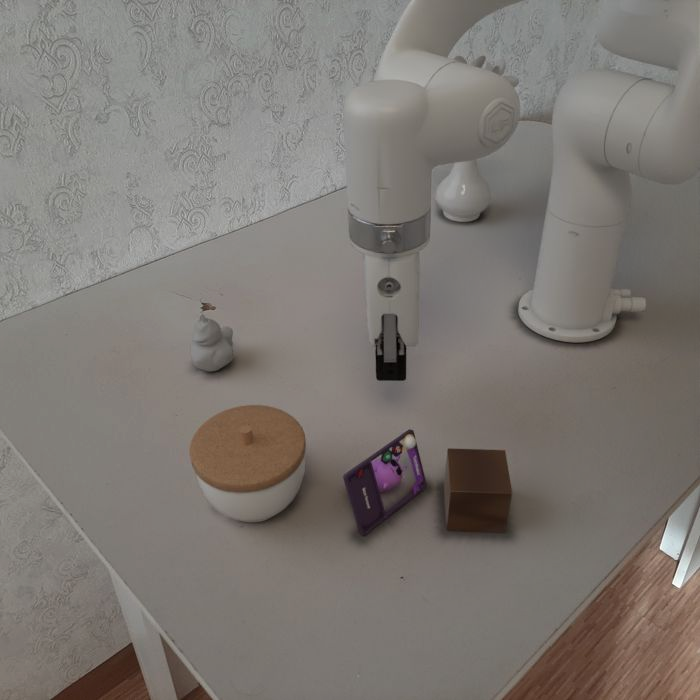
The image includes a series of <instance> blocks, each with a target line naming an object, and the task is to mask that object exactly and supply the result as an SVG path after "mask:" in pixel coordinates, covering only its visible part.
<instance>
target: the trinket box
mask: <svg viewBox="0 0 700 700" xmlns="http://www.w3.org/2000/svg"><path fill="white" fill-rule="evenodd" d="M306 441H307V439H306V433H305V431H304V428H303V426H302V425H301V424H300V422H299V421H298V420H297V418H295V417H294V416H292V415H291V414H290V413H288V412H286V411H284V410H282V409H281V408H277V407H274V406H270V405H262V404H248V405H247V404H246V405H240V406H235V407H231V408H229V409H226V410H223V411H221V412H218V413H217V414H215V415H213V416H212V417H210V418H208V419H207V420H206V421H204V422H203V424H201V425H200V427H198V428H197V430H196V431H195V433H194V434H193V437H192V438H191V441H190V445H189V458H190V463H191V466H192V468H193V471H194V475H195V478H196V482H197V485H198V487H199V489H200V492H201V493H202V495H203V496H204V498H205V500H206V501H207V502H208V504H209V505H210V506H211V507H212V508H213V509H214V510H215V511H216V512H217V513H220V514H221V515H223V516H224V517H226V518H229V519H231V520H235V521H239V522H244V523H251V524H252V523H262V522H264V521H267V520H270V519H271V518H273V517H274V516H276V515H278V514H279V513H281V512H282V511H284V510H285V509H286V508H287V507H288V506H289V505H290V504H291V503H292V502H293V501H294V500H295V498H296V497H297V495H298V494H299V491H300V489H301V486H302V483H303V480H304V476H305V470H306V447H307V442H306Z"/></svg>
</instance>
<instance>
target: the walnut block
mask: <svg viewBox="0 0 700 700" xmlns="http://www.w3.org/2000/svg"><path fill="white" fill-rule="evenodd" d="M445 460H446V461H445V468H444V469H445V471H444V480H443V497H444V513H445V528H446V531H447V532H466V533H467V532H470V533H471V532H472V533H495V534H496V533H498V534H505V533H506V531H507V525H508V519H509V514H510V509H511V504H512V503H511V501H512V497H513V489H512V484H511V483H512V482H511V477H510V471H509V465H508V459H507V452H506V450H505V449H485V448H484V449H482V448H480V449H479V448H453V447H452V448H451V447H450V448H447V450H446V458H445Z"/></svg>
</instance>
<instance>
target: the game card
mask: <svg viewBox="0 0 700 700" xmlns="http://www.w3.org/2000/svg"><path fill="white" fill-rule="evenodd" d="M401 441H402V443H401ZM403 449H404V450H406V453H407V455H408V458H409V461H410V463H411V467H412V470H413V474H414V479H415V483H414V484H413V485H412V490H411V491H410V492H409V493H408V494H407V495H405V496H404V497H402V498H401V499H400V500H399V501H397V502H396V503H395V504H393V505H392V506H391V507H390V508H388V509H387V510H385V506H384V503H383V500H382V496H381V492H385V491H388V490H390V489H392V488H394V487H396V486H397V485H398V484H399V483H400V482H403V481H404V480H403V479H404V478H406V477H407V476H406V475H405V476H404V474H403V471H405V470H407V469H408V465H407V466H406V465H405V466H401V464H400V463H399V460H400V458H401V455H402V454H403ZM420 455H421V454H420V452H419V448H418V443H417V439H416V435H415V431H414V430H413V429H410V428H409V429H407V430H406V431H404V432H402V433H401V434H399V436H398V437H396V438H394V439H393V440H392V441H390V442H389V443H387V444H385V445H384V446H383V447H382V448H380V449H379V450H377V451H376V452H374V453H373V454H371V455H370V456H368V457H366V459H364V460H362V461H361V462H359V464H357V465H356V466H354V467H353V468H351V469H350V470H349V471H347V472H346V473H344V474H343V476H342V479H343V482H344V485H345V490H346V492H347V495H348V499H349V502H350V506H351V509H352V512H353V516H354V519H355V523H356V526H357V529H358V533H359V535H361V536H363V537H364V536H365V535H367V534H368V533H369V532H371V531H372V530H374V529H375V528H376V527H377V526H378V525H379V524H381V523H382V522H383V521H385V520H387V519H388V518H389V517H390V516H391V515H392V514H394V513H395V512H397V511H398V510H399V509H400V508H402V507H403V506H404V505H406V504H407V503H408V502H409V501H411V500H412V499H413V498H415V497H416V496H417V495H418V494H420V493H421V492H422V491H423V490H425V489H426V487H427V486H428V484H427V480H426V476H425V471H424V467H423V464H422V460H421V456H420ZM393 456H394V457H395V458H393ZM378 457H379V458H378Z"/></svg>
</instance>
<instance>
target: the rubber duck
mask: <svg viewBox="0 0 700 700" xmlns="http://www.w3.org/2000/svg"><path fill="white" fill-rule="evenodd" d="M233 334H234V330H233V329H232V327H230V326H222V327H221V325H220V324H219V323H218V322H217V321H215V320H214V319H212V318H207V317H206V316H205V315H204V314H203V313H201V314H200V315H199V316H198V319H197V321H196V323H195V324H194V327H193V330H192V339H193V340H192V341H191V342H190V347H189V348H190V349H189V352H190V353H189V354H190V362H191V365H192V367H194V368H197V369H199V370H202V371H205V372H216V371H219V370H220V369H221V368H224V367H225V366H226V365H228V364H229V363H230V362H232V361H233V359H234V348H233V337H234V336H233Z"/></svg>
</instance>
